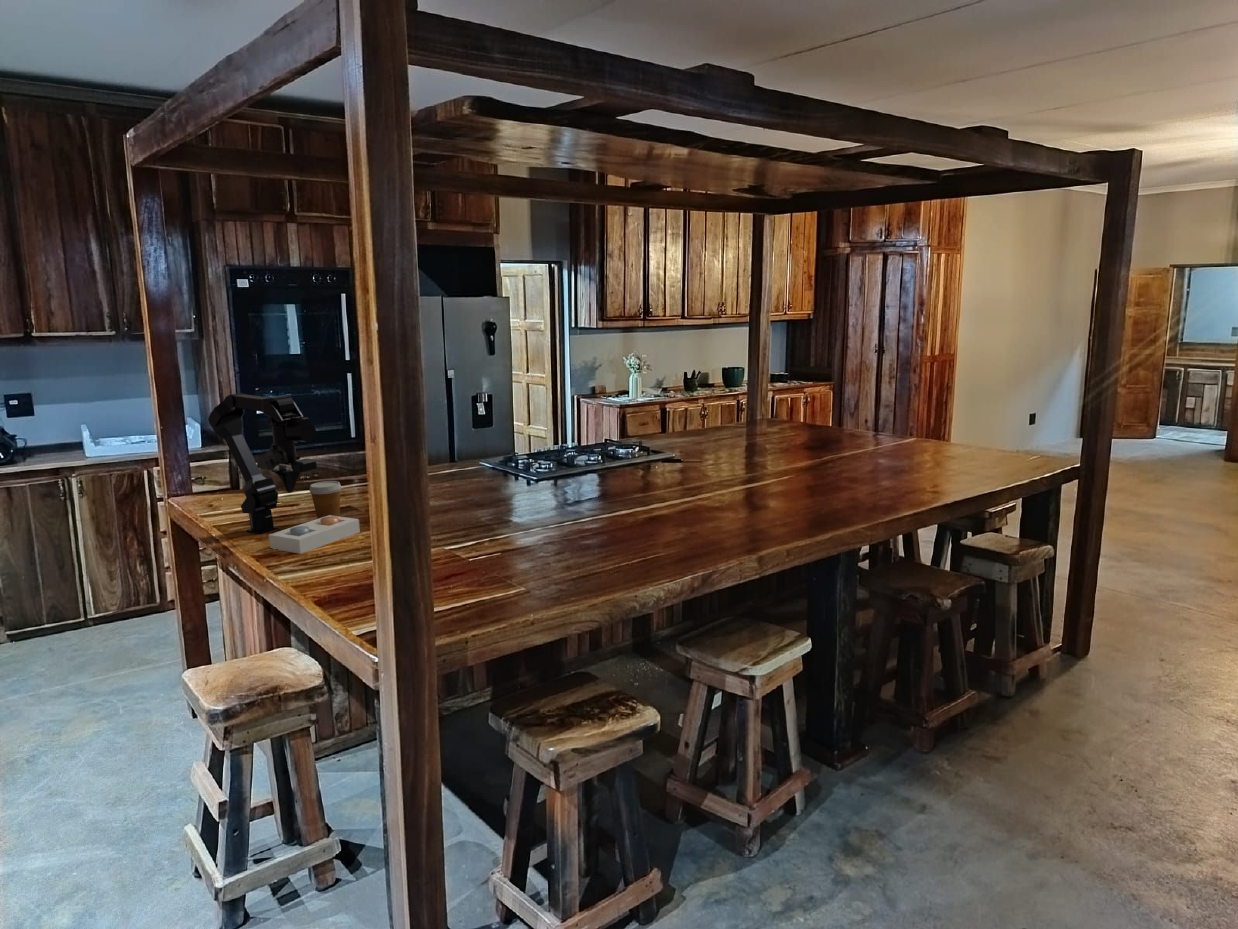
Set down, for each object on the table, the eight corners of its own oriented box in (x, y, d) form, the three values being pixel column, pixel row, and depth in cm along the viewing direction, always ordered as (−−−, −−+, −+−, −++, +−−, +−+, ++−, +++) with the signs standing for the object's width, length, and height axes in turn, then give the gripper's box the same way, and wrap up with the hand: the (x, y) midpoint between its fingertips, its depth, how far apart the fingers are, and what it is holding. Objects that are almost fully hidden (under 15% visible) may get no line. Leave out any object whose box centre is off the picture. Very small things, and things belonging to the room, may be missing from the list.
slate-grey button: (287, 540, 235) (285, 530, 234) (301, 535, 239) (300, 525, 238) (299, 542, 232) (298, 532, 232) (313, 537, 237) (312, 527, 236)
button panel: (270, 548, 234) (268, 534, 233) (330, 527, 253) (329, 515, 252) (300, 553, 229) (299, 539, 228) (359, 532, 248) (358, 519, 247)
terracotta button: (317, 529, 244) (316, 520, 244) (330, 525, 249) (329, 515, 248) (330, 531, 242) (328, 521, 241) (343, 527, 246) (342, 517, 246)
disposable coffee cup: (311, 527, 255) (307, 489, 252) (313, 519, 263) (309, 482, 261) (344, 524, 257) (340, 486, 255) (345, 516, 266) (341, 479, 264)
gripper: (238, 442, 238) (244, 496, 241) (283, 446, 229) (290, 502, 232) (270, 436, 247) (276, 487, 251) (315, 439, 239) (321, 492, 242)
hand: (290, 492), depth 244 cm, fingers closed
